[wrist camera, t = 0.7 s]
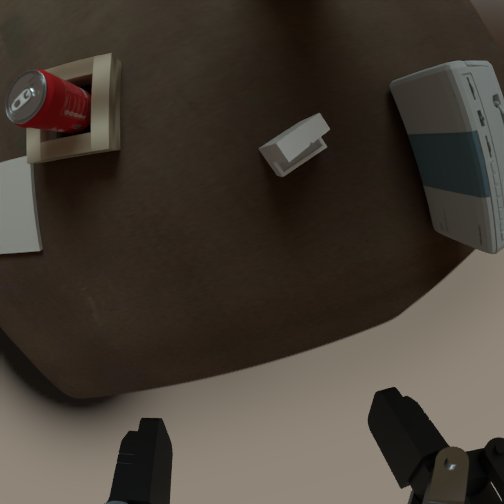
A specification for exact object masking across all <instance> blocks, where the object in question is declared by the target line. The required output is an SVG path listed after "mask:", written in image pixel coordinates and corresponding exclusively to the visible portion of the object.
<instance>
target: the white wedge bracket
mask: <svg viewBox="0 0 504 504" xmlns="http://www.w3.org/2000/svg"><path fill="white" fill-rule="evenodd" d="M329 130H330V128H329V126H328V125H327V123H326V122H325V120H324V119H323V117H322V116H321V114H320V113H318V114H316V115H313V116H311V117H309V118H307V119H304V120H302V121H300V122H298V123H297V124H295V125H294V126H292V127H290V128H289V129H287V130H286V131H284V132H283V133H281V134H280V135H278V136H277V137H275V138H274V139H272V140H271V141H269V142H268V143H266V144H265V145H263V146H262V147H260V148H259V151H260V152H261V153H262V155H263V156H264V158H265V159H266V161H267V162H268V163H269V165H270V166H271V168H272V169H273V171H274V172H275V174H276V175H277V176H280V177H284V176H285V175H287V174H288V173H290V172H291V171H293V170H294V169H296V168H297V167H298V166H300V165H301V164H303V163H304V162H306V161H307V160H309V159H310V158H312V157H313V156H315V155H316V154H318V153H319V152H321V151H322V150H324V149H325V148H327V146H326V144H325V143H324V141H323V139H322V138H321V136H322V135H324V134H325V133H326V132H328V131H329Z"/></svg>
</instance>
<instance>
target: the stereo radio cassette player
mask: <svg viewBox="0 0 504 504" xmlns="http://www.w3.org/2000/svg"><path fill="white" fill-rule="evenodd" d="M389 88H390V90H391V93H392V95H393V97H394V100H395V102H396V105H397V107H398V110H399V112H400V115H401V118H402V120H403V123H404V126H405V128H406V131H407V134H408V137H409V140H410V143H411V146H412V149H413V152H414V156H415V159H416V162H417V165H418V169H419V172H420V176H421V179H422V183H423V187H424V190H425V194H426V198H427V202H428V206H429V211H430V215H431V220H432V224H433V228H434V230H435V231H437V232H438V233H440V234H442V235H445V236H447V237H449V238H451V239H454V240H456V241H458V242H461V243H463V244H466V245H468V246H471V247H473V248H476V249H478V250H481V251H483V252H486V253H490V254H496V253H498V252H499V251H500V250H501V249H503V248H504V99H503V96H502V93H501V89H500V87H499V84H498V81H497V78H496V75H495V72H494V70H493V67H492V65H491V64H490V63H489V62H488V61H453V62H448V63H444V64H441V65H438V66H434V67H431V68H428V69H425V70H422V71H419V72H416V73H413V74H410V75H407V76H405V77H402V78H399V79H397V80H394V81H392V82H391V83H390V84H389Z"/></svg>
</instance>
